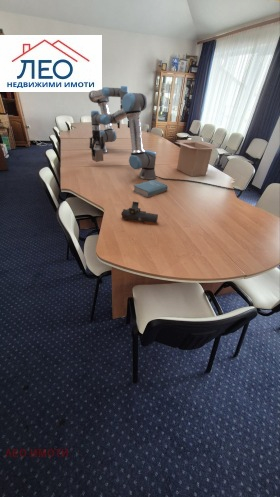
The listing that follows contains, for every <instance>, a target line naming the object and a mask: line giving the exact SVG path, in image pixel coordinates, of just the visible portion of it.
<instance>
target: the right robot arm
mask: <svg viewBox="0 0 280 497" xmlns="http://www.w3.org/2000/svg"><path fill="white" fill-rule="evenodd" d="M148 102H149V101H148V98H147V96H146V95H145V94H144V93H141V92H128V93H127V94H125V95H124V97H123V99H122V109H120V108H119V109H118V110H117V111H115V112H113V113H111V114H110V113H109V114H106V115H102V113H101V112H100V111H99V110H91V111H90V120H91V121H90V122H91V134H92V136H89V149H90V150H91V155H92V154H93V156H95V154H94V148H95V142H96V141H98V142H99V145H100V147H101V149H103V147H104V141H103V136H100V130H101V125H103V126H104V125H108V124H111V125H114V124H116V125H117V123H119V121H120V122H121V121H122V120H124V119H126V118H127V117H129V120H128V121H129V126H130V128H129V134H130V142H131V151H130V156H129V158H128V163H129V166H130V167H131V168H132V170H140V172H139V178H140V179H142V180H146V181H150V180H156V178H158V179H161V180H165V181H180V182H190V183H195V184H196V183H198V184H203V185H208V186H212V187H216V188H222V189H226V190H232V191H237V192H246V191H248V192H251V189H250V188H245V189H238V188H237V189H236V188H232V187H227V186H222V185H217V184H212V183H207V182H202V181H197V180H189V179H179V178H165V177H161V176H157V174H156V169H155V167H156V158H157V153H156V152H155V151H153V150H148V149H144V148H143V140H142V138H143V137H142V130H141V129H142V128H141V119H140V116H141V114H142V112H143V111H145V110H146V109H147V107H148ZM100 113H101V114H100ZM100 138H101V141H100ZM101 143H102V144H101Z"/></svg>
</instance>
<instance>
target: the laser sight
mask: <svg viewBox="0 0 280 497" xmlns="http://www.w3.org/2000/svg"><path fill="white" fill-rule="evenodd" d="M139 204H140V203H139V201H132V204H131V207H128V208H127V209H126V208H124V209H122V211H121V214H120V215H121V218H122V219H125V220H126V221H131V222H140V223H151V224H158V218H159V214H157V213H150V212H147V211H144V210H141V208H139Z"/></svg>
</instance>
